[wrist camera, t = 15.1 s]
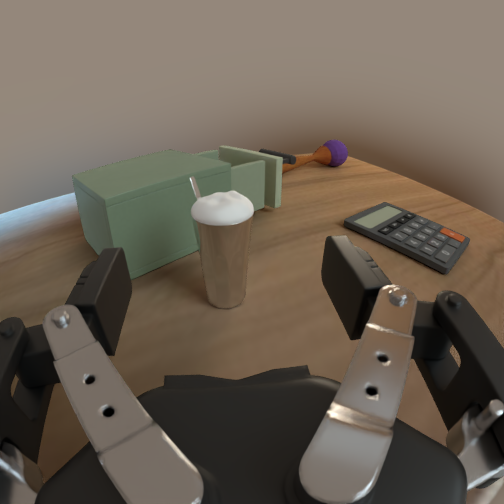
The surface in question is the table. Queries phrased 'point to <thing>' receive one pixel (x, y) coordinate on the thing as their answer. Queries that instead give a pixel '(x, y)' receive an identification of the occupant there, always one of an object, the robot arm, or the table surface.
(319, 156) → the kendama
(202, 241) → the milkshake
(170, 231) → the cabinet
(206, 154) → the drawer
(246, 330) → the table surface
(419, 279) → the table surface
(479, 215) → the table surface
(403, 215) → the calculator
